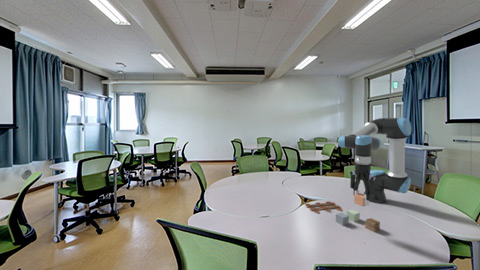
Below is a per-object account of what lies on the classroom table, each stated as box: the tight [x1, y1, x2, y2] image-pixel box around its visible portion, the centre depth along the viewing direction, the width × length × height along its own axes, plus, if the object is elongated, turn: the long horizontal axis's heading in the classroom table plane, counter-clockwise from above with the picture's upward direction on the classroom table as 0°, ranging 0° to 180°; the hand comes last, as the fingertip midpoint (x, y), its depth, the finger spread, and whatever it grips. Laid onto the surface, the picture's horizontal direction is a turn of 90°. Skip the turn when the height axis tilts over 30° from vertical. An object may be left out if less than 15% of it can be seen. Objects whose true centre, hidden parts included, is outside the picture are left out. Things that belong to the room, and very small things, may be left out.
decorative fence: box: [304, 201, 343, 215], centre depth 141 cm, size 23×2×15 cm
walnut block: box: [364, 217, 381, 233], centre depth 113 cm, size 5×5×5 cm
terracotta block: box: [353, 192, 365, 207], centre depth 111 cm, size 5×5×5 cm
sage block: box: [346, 209, 361, 223], centre depth 124 cm, size 5×5×5 cm
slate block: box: [335, 212, 350, 227], centre depth 120 cm, size 5×5×5 cm
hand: (361, 203), depth 111 cm, fingers closed on terracotta block, 5 cm apart
